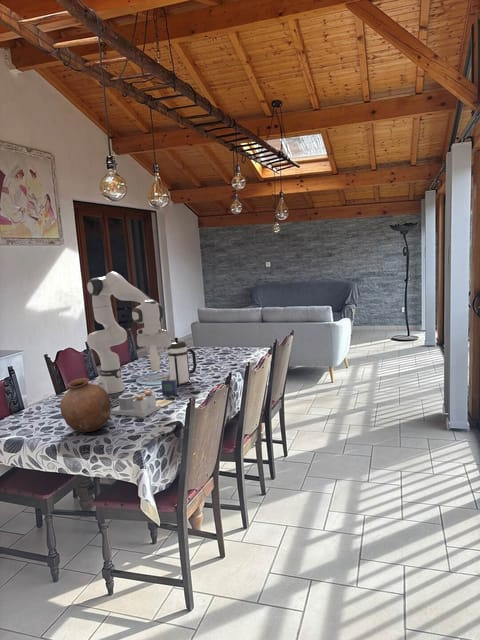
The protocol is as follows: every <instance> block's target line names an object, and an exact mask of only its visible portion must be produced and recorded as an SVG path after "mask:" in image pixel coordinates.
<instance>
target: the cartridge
mask: <svg viewBox="0 0 480 640" xmlns="http://www.w3.org/2000/svg"><path fill="white" fill-rule="evenodd" d="M149 346H150V355H149V359H150V371H151V372H159V371H161V357H160V356H161V355H158V352H159V351H160V349H159V347H156V345H149Z"/></svg>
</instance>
